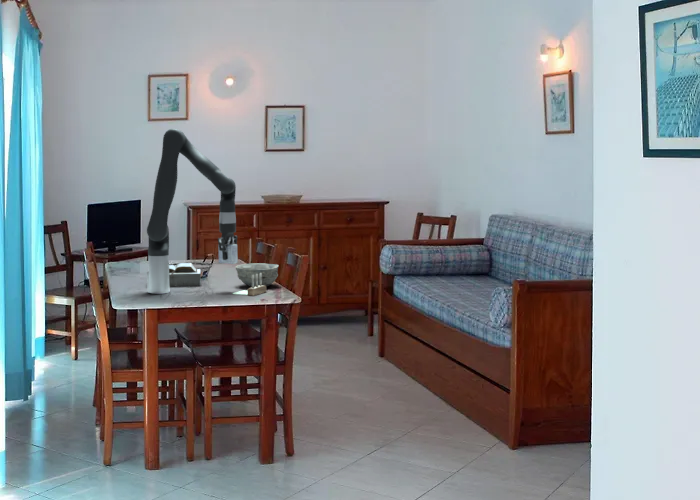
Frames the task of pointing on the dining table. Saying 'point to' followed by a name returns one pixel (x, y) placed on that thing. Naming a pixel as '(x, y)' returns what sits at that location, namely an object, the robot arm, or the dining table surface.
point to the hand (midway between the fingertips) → (228, 258)
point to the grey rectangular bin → (184, 275)
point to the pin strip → (256, 289)
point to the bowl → (248, 270)
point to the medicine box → (229, 254)
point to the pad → (241, 292)
